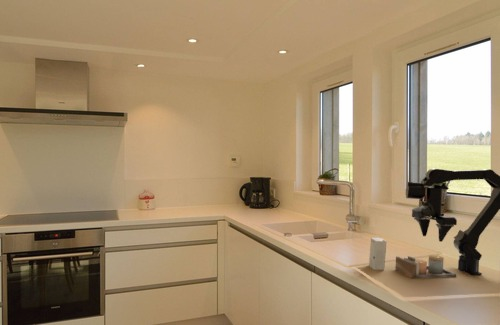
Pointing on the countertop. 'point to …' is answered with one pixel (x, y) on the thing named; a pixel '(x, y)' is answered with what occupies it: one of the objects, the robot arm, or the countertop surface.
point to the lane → (409, 270)
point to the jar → (422, 266)
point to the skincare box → (377, 254)
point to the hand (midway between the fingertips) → (432, 238)
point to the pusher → (414, 263)
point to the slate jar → (435, 264)
